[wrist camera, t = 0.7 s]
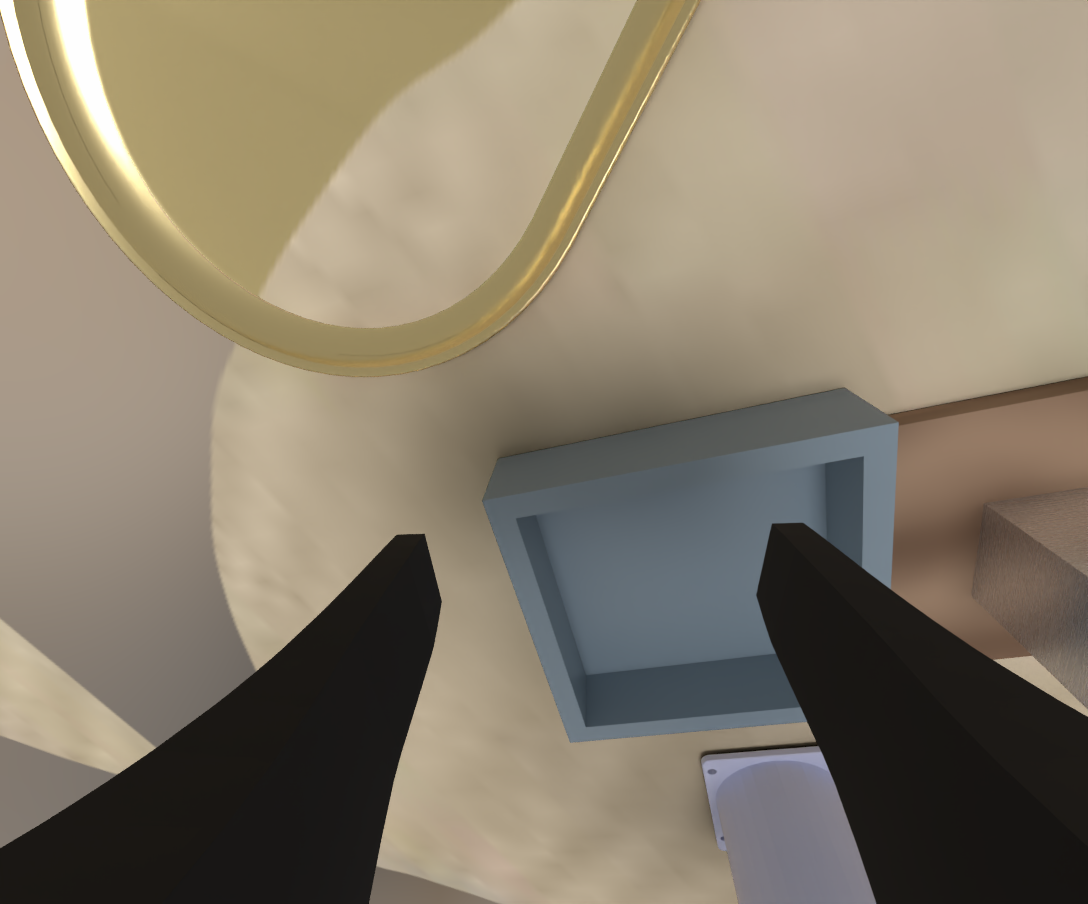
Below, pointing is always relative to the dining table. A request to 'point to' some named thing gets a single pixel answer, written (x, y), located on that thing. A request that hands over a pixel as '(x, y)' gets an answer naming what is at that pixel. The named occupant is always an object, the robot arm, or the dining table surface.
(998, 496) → the stud base
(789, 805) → the robot arm
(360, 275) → the dining table surface
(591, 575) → the bin
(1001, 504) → the metal block
